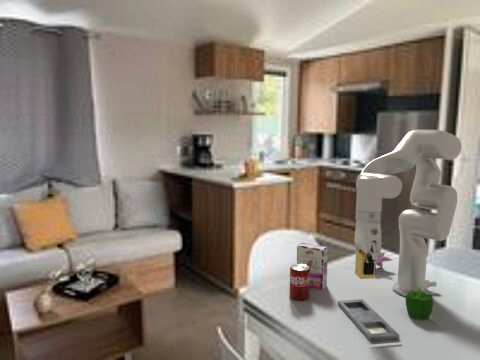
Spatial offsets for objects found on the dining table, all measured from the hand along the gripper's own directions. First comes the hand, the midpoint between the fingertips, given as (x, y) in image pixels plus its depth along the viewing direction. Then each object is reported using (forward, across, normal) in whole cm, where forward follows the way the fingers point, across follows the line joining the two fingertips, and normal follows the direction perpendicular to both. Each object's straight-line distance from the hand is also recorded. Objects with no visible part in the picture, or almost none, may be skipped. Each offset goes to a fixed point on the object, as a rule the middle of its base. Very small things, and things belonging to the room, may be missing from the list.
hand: (364, 270), depth 125 cm
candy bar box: (+17, +28, +8) cm, 34 cm away
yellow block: (+2, 0, 0) cm, 2 cm away
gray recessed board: (+17, -2, 0) cm, 17 cm away
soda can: (+17, +18, +16) cm, 29 cm away
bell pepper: (+17, 0, -20) cm, 26 cm away
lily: (+16, +43, -25) cm, 52 cm away
